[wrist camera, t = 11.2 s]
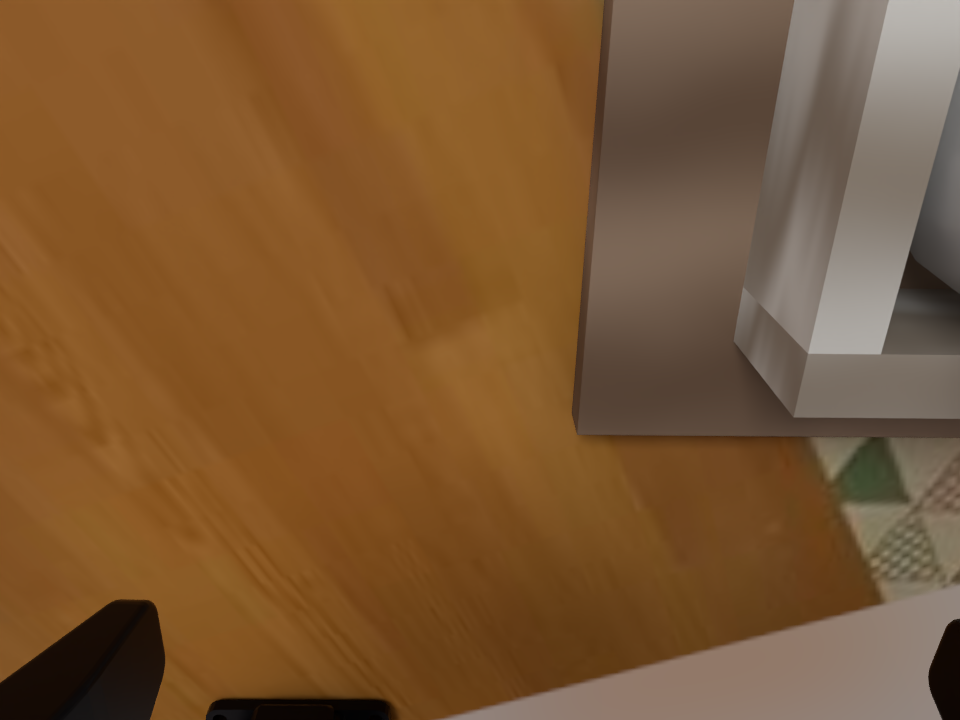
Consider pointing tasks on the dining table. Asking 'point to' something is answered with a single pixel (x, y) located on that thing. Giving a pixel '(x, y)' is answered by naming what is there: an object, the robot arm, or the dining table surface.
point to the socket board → (767, 221)
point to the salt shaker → (942, 205)
